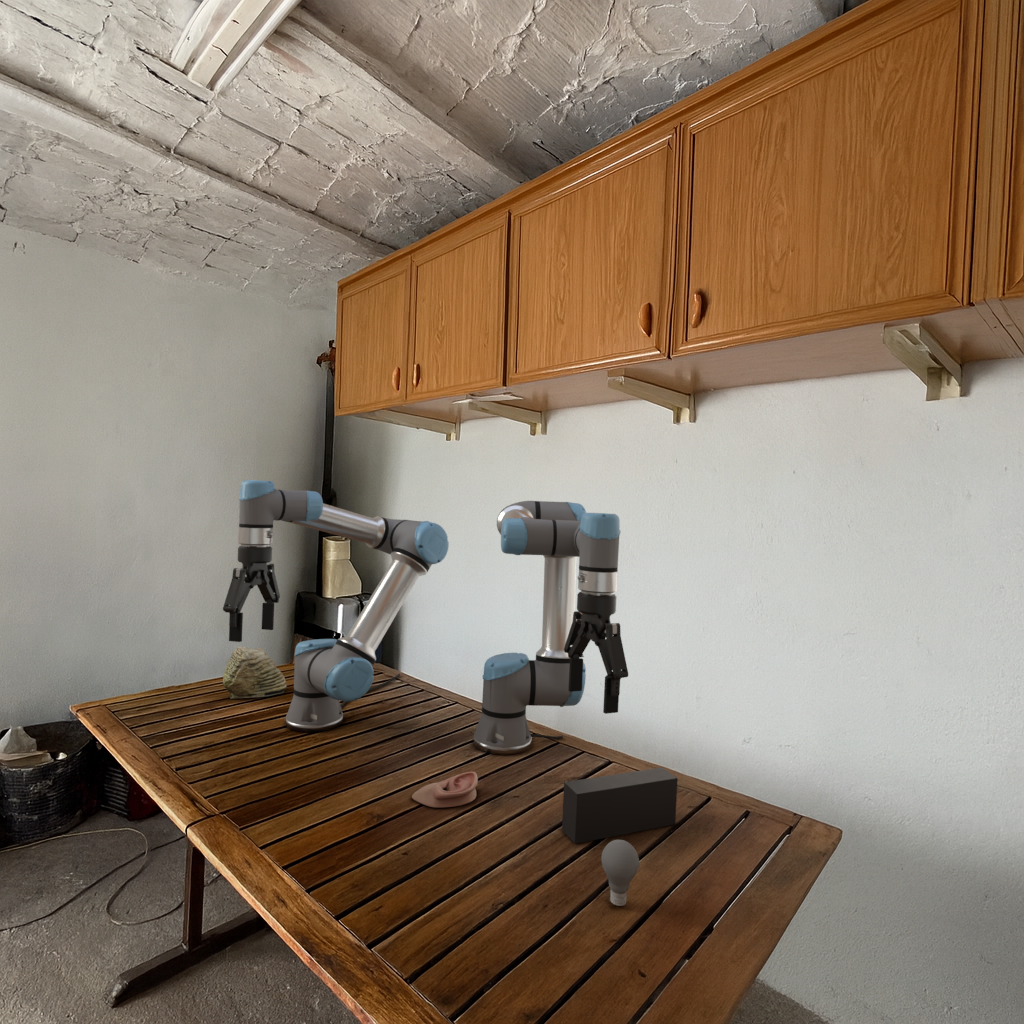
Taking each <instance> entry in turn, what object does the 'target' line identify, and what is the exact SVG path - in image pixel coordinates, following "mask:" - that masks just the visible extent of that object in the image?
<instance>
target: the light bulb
mask: <svg viewBox="0 0 1024 1024" xmlns="http://www.w3.org/2000/svg"><path fill="white" fill-rule="evenodd" d="M600 858H601V861H600V862H601V866H602V869H603V871H604V873H605V875H606V877H607V879H608V886H609V888H610V897H609V901H610V902H611V904H613V905H614V906H618V907H622V906H625V905H626V904H627V896H628V895H627V893H628V891H629V889H630V885H631V882H632V880H633V879H634V878H635V876H636V875H637V874H638V870H639V868H640V858H639V854H638V852H637V850H636V848H635V847H634V846H633V845H632V844H631V843H630V842H628V841H627V840H624V839H613V840H612V841H609V842H608V843H607V844H606V845H605V847H604V848H603V850H602V852H601V857H600Z"/></svg>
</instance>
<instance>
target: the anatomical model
mask: <svg viewBox="0 0 1024 1024" xmlns="http://www.w3.org/2000/svg"><path fill="white" fill-rule="evenodd" d="M478 777H479V776H478V775H477V772H475V771H466V772H463V773H462V772H461V773H459V774H456V775H454V776H451V777H448V778H445V779H444V780H441V781H438V782H433V783H429V784H426V785H424V786H421V788H419V789H417V790H416V791H414V792H413V794H412V795H411V799H412V800H414V801H415V802H417V803H419V804H421V805H423V806H427V807H428V808H429V807H430V808H435V809H439V808H452V807H459V806H464V805H466V804H469V803H471V802H473V801H474V800H475V799H476V798H477V795H478V794H477V789H476V787H477V786H478V783H479V782H478V781H479V778H478Z"/></svg>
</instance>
